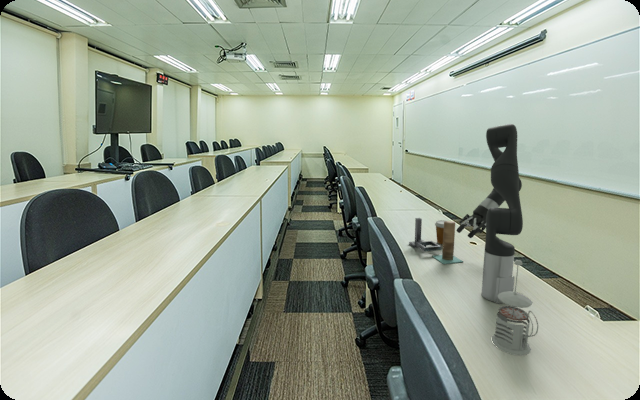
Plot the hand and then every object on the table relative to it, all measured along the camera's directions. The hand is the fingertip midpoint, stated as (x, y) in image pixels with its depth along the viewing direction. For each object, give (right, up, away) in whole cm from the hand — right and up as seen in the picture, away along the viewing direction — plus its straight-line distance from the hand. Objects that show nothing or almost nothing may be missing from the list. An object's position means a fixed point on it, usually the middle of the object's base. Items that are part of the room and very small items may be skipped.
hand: (463, 234), depth 149 cm
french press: (-15, -24, -63) cm, 69 cm away
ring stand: (-14, -10, +15) cm, 23 cm away
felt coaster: (-8, -12, 0) cm, 14 cm away
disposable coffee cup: (0, -8, +25) cm, 26 cm away
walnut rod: (-7, -12, 0) cm, 14 cm away
